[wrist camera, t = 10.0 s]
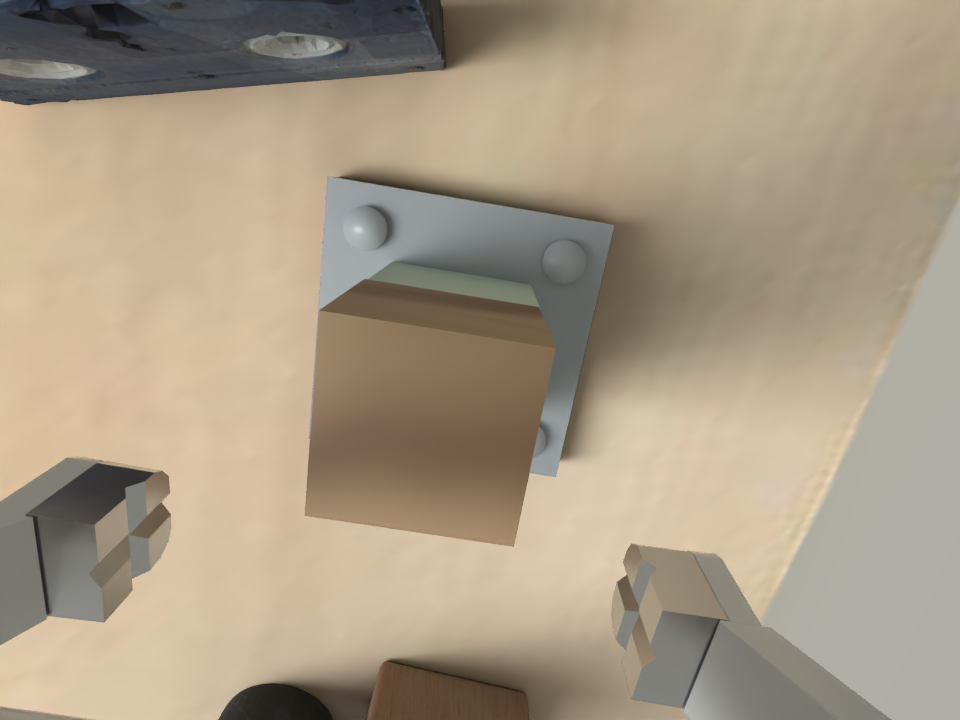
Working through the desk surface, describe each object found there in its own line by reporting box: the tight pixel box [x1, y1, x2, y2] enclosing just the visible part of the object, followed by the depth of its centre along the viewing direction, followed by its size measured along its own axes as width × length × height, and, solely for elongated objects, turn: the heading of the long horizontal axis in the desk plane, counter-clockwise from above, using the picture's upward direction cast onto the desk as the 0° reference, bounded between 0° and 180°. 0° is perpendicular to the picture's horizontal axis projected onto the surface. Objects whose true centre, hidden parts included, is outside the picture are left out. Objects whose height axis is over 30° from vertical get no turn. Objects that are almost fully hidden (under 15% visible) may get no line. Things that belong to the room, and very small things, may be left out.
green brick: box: [369, 262, 540, 308], centre depth 21 cm, size 6×6×5 cm
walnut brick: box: [305, 279, 556, 547], centre depth 17 cm, size 6×6×5 cm
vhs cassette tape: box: [0, 0, 446, 105], centre depth 17 cm, size 18×3×10 cm, turn 92°
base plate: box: [309, 177, 614, 477], centre depth 24 cm, size 12×12×2 cm
